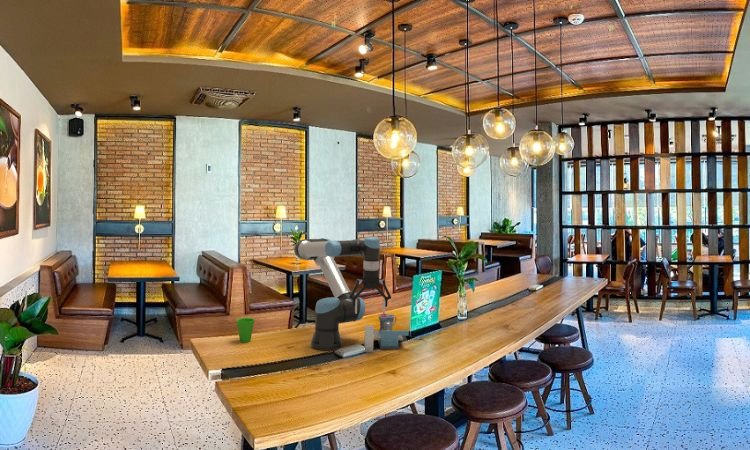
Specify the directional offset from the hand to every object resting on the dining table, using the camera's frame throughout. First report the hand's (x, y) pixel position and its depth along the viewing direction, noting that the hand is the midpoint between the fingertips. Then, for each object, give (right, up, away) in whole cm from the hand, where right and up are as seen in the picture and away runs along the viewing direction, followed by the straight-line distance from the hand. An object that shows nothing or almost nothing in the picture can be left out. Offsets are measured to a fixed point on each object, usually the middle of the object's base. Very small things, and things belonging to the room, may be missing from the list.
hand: (369, 313), depth 229 cm
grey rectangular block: (-1, -18, +1) cm, 19 cm away
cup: (-63, -16, +10) cm, 66 cm away
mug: (+10, -18, +30) cm, 36 cm away
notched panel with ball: (+10, -18, +12) cm, 24 cm away
